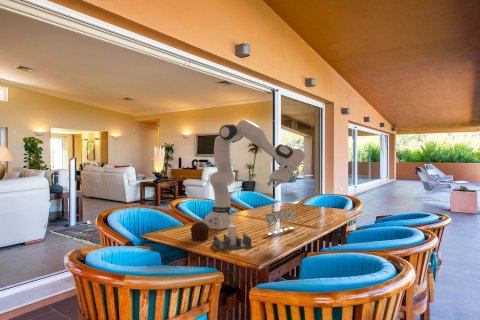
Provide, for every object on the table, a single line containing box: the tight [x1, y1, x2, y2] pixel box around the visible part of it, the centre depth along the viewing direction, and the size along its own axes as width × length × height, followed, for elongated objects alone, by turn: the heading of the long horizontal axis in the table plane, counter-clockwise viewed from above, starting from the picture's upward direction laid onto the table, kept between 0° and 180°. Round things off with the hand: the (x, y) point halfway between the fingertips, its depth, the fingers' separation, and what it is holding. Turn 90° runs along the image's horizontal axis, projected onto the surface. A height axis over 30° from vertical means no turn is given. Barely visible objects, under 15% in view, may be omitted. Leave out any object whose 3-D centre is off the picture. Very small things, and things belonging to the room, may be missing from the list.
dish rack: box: [212, 232, 253, 252], centre depth 172 cm, size 19×14×5 cm
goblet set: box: [264, 209, 296, 235], centre depth 207 cm, size 28×6×13 cm, turn 133°
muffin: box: [189, 221, 210, 242], centre depth 184 cm, size 12×11×10 cm
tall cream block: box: [227, 224, 237, 245], centre depth 172 cm, size 3×5×10 cm, turn 17°
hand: (270, 185), depth 190 cm, fingers open, 8 cm apart
